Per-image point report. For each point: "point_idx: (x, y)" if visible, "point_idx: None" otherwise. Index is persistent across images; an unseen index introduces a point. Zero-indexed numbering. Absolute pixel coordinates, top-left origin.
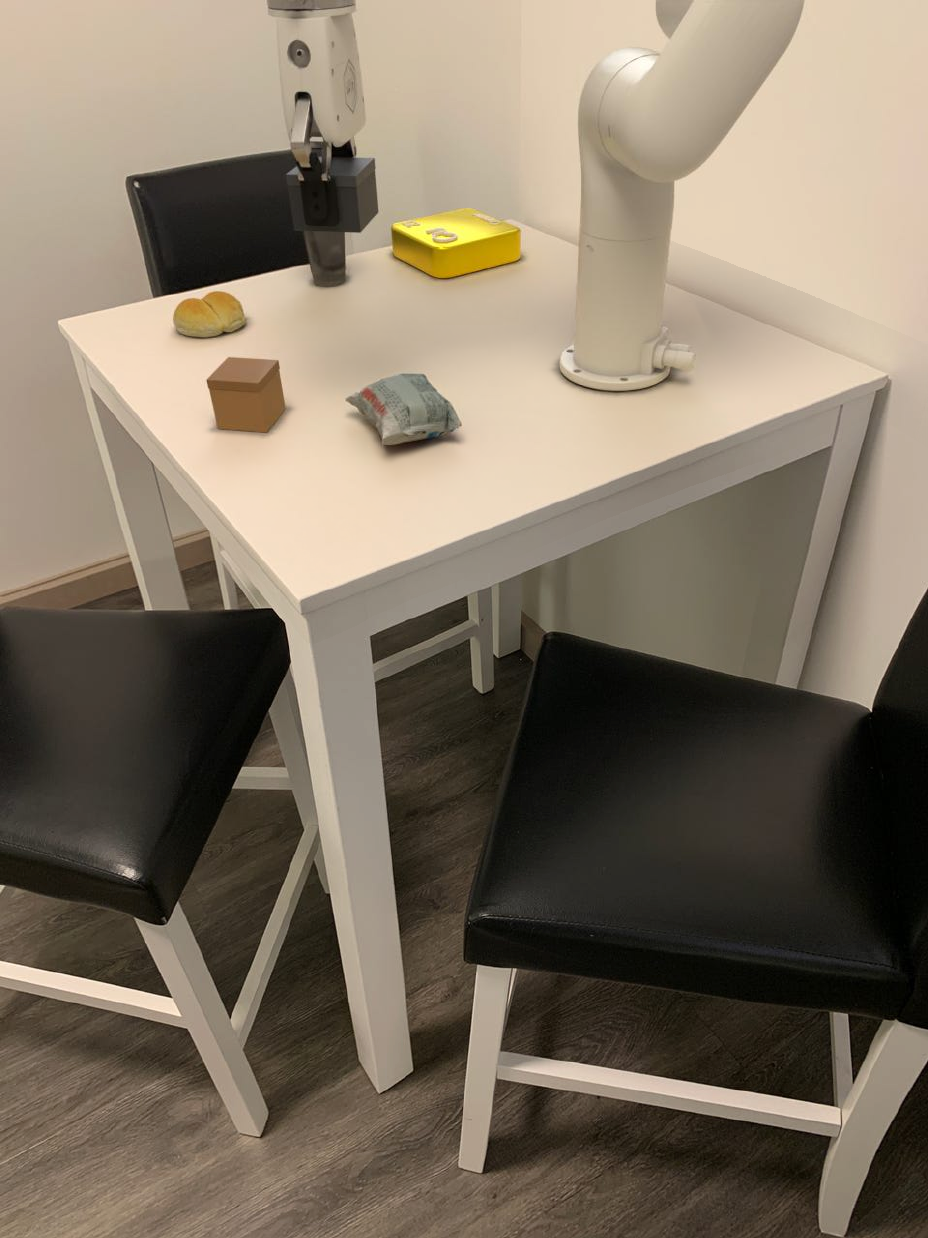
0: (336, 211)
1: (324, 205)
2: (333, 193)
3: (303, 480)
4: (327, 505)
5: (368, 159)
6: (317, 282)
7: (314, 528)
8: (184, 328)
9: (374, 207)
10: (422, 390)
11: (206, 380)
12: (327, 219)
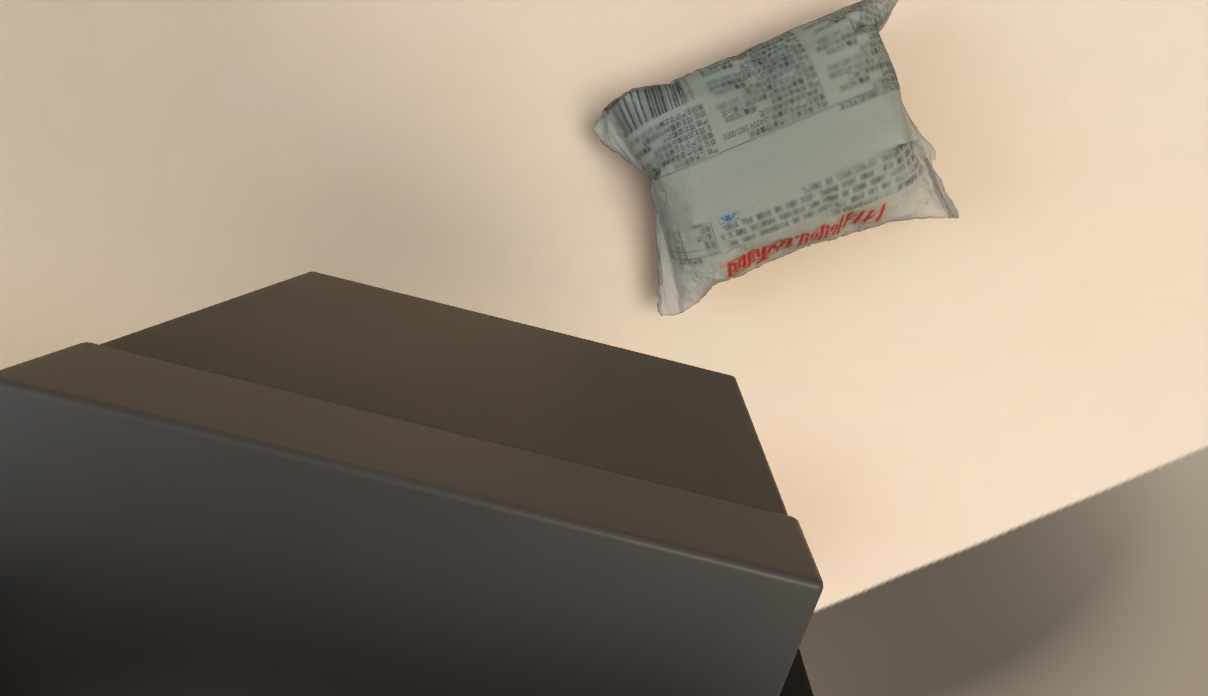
0: None
1: (804, 681)
2: (789, 675)
3: (951, 387)
4: (1074, 332)
5: (74, 448)
6: None
7: (1159, 354)
8: None
9: (374, 303)
10: (816, 98)
11: None
12: None
